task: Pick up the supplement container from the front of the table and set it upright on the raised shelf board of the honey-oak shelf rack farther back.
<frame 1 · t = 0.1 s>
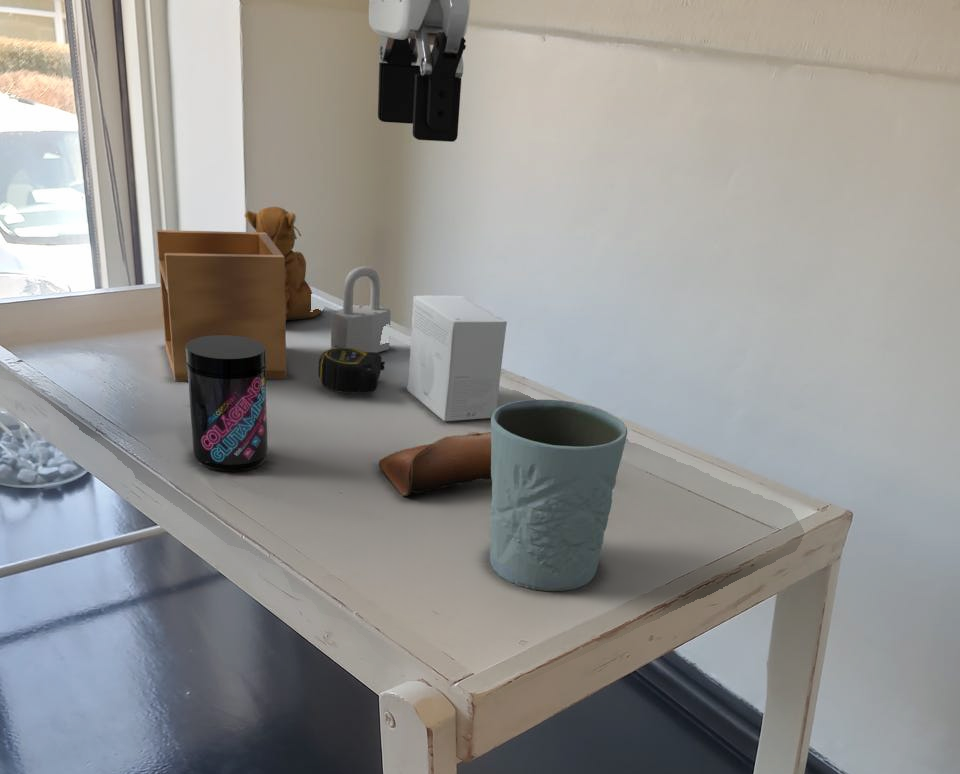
hand: (415, 130, 76), 29 cm above the table, tool pointing down, fingers open, 9 cm apart
supplement container: (231, 461, 93), on the table
shelf: (224, 362, 115), on the table
padlock: (360, 353, 123), on the table
cosmetics box: (451, 405, 110), on the table
embossed green cup: (539, 566, 81), on the table
tape measure: (356, 390, 112), on the table
sunglasses case: (477, 475, 95), on the table
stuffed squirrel: (274, 318, 132), on the table
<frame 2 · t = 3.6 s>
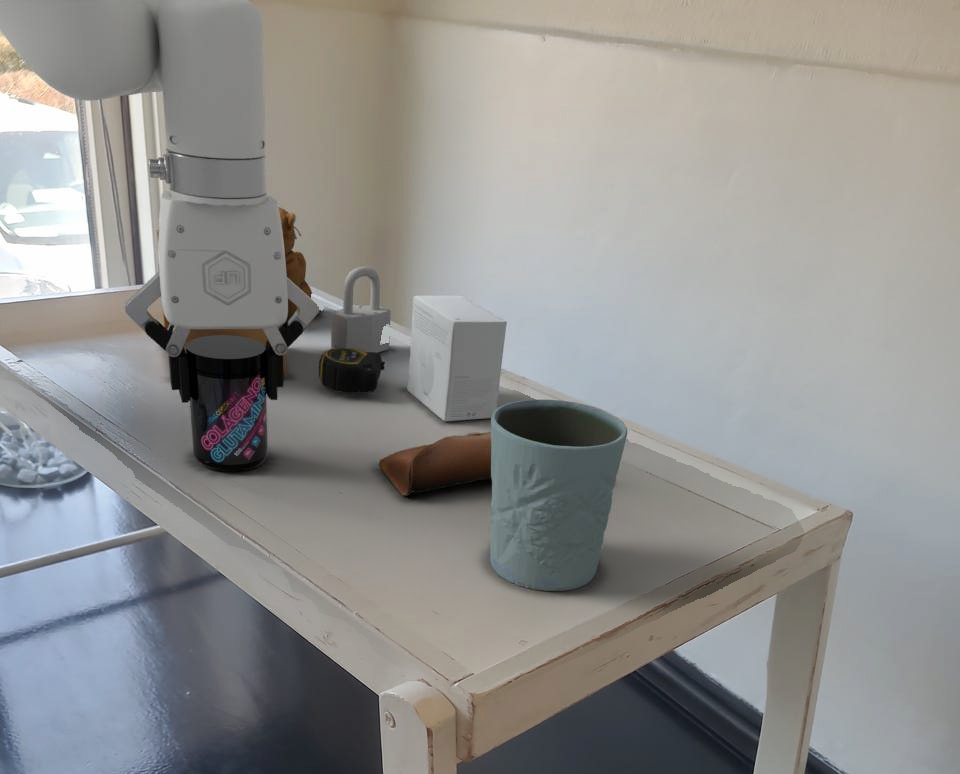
hand: (228, 394, 89), 6 cm above the table, tool pointing down, fingers closed on supplement container, 6 cm apart
supplement container: (231, 461, 93), on the table, touching gripper
everything else where it was.
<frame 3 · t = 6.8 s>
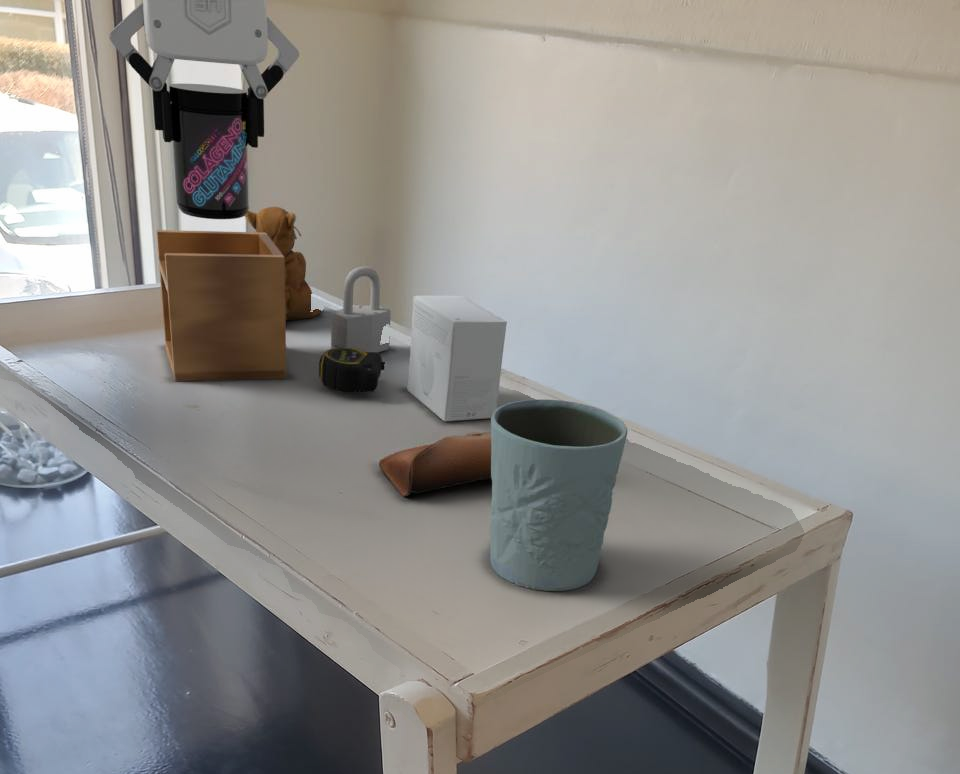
hand: (210, 141, 92), 24 cm above the table, tool pointing down, fingers closed on supplement container, 6 cm apart
supplement container: (213, 215, 95), point 18 cm above the table, touching gripper
everything else where it was.
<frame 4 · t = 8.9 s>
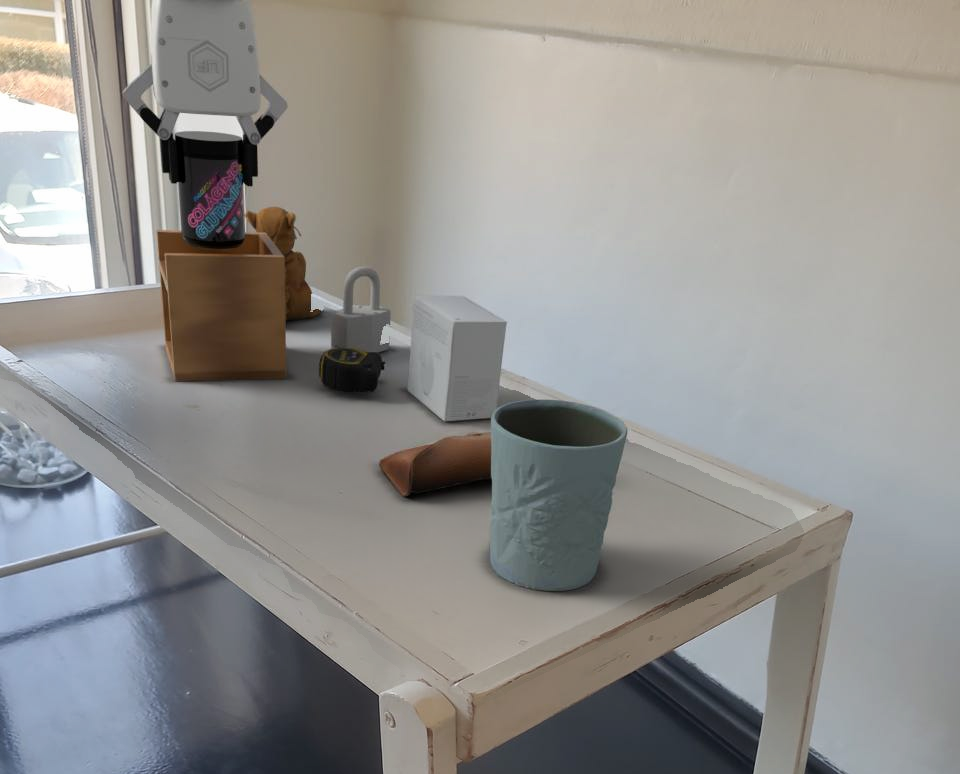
hand: (210, 181, 105), 19 cm above the table, tool pointing down, fingers closed on supplement container, 6 cm apart
supplement container: (214, 245, 108), point 13 cm above the table, touching gripper
everything else where it was.
when the fingers open (16 cm above the table, at t = 10.2 s): supplement container stays where it is, resting on shelf.
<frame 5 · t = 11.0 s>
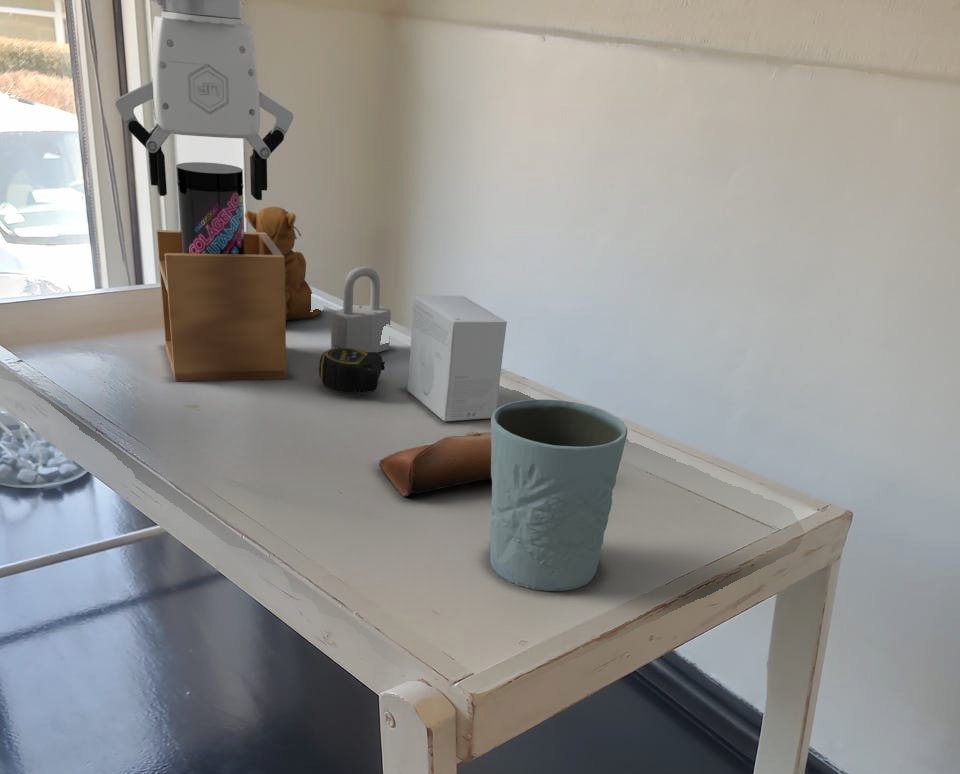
hand: (210, 195, 106), 18 cm above the table, tool pointing down, fingers open, 9 cm apart
supplement container: (214, 273, 110), point 10 cm above the table, touching shelf
everything else where it was.
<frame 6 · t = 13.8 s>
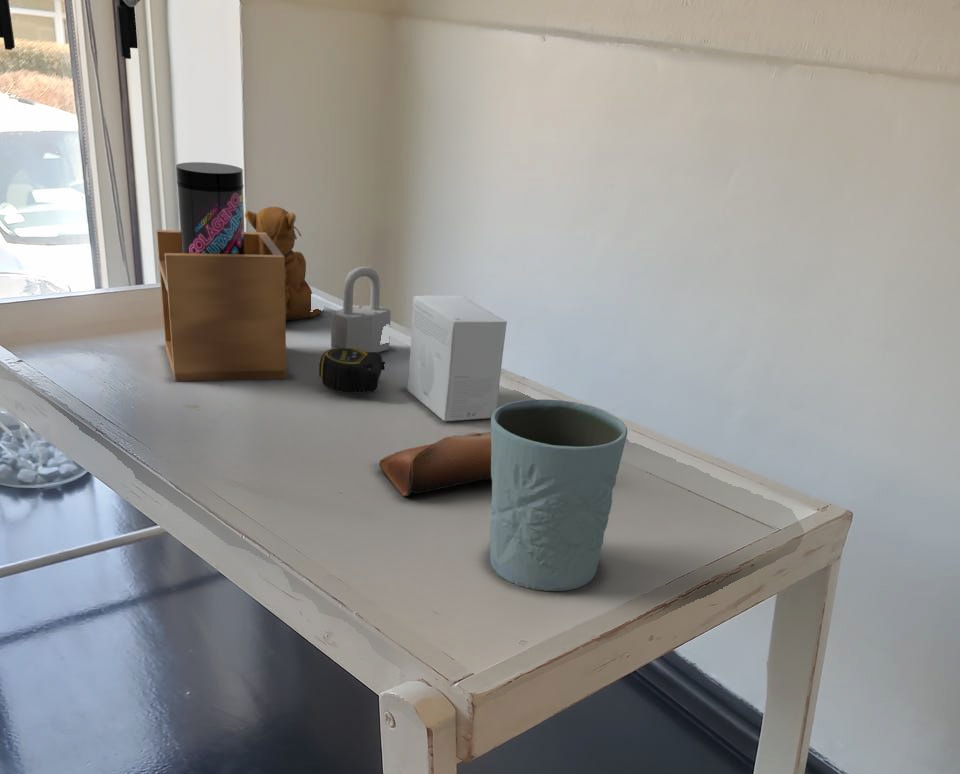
hand: (69, 53, 89), 30 cm above the table, tool pointing down, fingers open, 9 cm apart
nothing on the table moved.
at the end: supplement container inside the target area on the shelf (0.1 cm from its centre), point 9.8 cm above the shelf's base; supplement container tilted 0°; the gripper is holding nothing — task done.
